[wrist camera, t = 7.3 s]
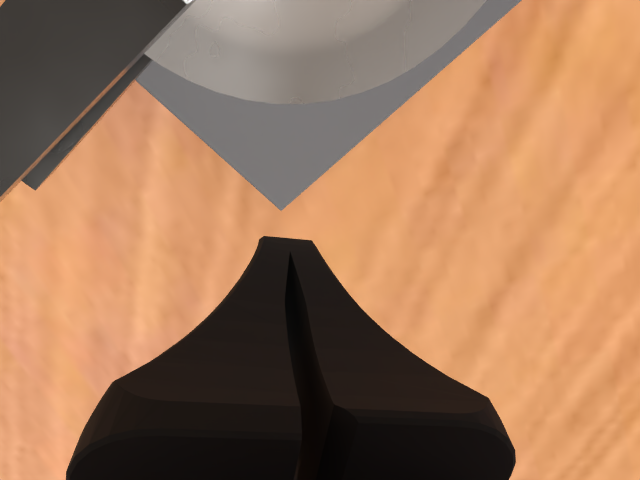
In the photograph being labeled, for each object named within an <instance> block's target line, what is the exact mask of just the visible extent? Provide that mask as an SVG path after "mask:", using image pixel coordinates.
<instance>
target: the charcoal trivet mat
mask: <svg viewBox="0 0 640 480" xmlns="http://www.w3.org/2000/svg"><path fill="white" fill-rule="evenodd" d="M520 1H521V0H486V1H485V3H484V4H483V5H482V6H481V7H480V8H479V10H478V11H477V12H476V13H475V14H474V15H473V17H472V18H471V19H470V20H469V21H468V22H467V24H466V25H465V26H464V27H463V28H462V29H461V30H459V31H458V32H457V33H456V34H455V35H454V36H453V37H452V38H451V39H450V40H449V41H448V42H447V43H445V44H444V45H443V46H442V47H441V48H440V49H439V50H437V51H436V52H435V53H433V54H432V55H430V56H429V57H428V58H426V59H425V60H424V61H422V62H421V63H420V64H418V65H417V66H415V67H414V68H412V69H410V70H408V71H407V72H405V73H403V74H401V75H400V76H398V77H396V78H394V79H392V80H391V81H389V82H387V83H384V84H382V85H379V86H377V87H374V88H372V89H369V90H367V91H365V92H362V93H359V94H355V95H351V96H348V97H344V98H340V99H336V100H332V101H324V102H316V103H309V104H272V103H265V102H257V101H250V100H244V99H240V98H237V97H233V96H229V95H225V94H222V93H218V92H215V91H213V90H210V89H208V88H205V87H203V86H200V85H198V84H195V83H193V82H191V81H188V80H186V79H184V78H183V77H181V76H179V75H177V74H175V73H174V72H172V71H170V70H168V69H166V68H165V67H163V66H161V65H159V64H158V63H156V62H155V61H152V62H151V63H150V64H149V65H148V66H147V68H146V69H145V70H144V71H143V72H142V73H141V74H140V75H139V77H138V78H137V79H136V81H137V82H138V83H139V84H140V85H141V86H143V87H144V88H145V89H146V90H147V91H148V92H149V93H150V94H151V95H153V96H154V97H155V98H156V99H157V100H158V101H159V102H160V103H161V104H163V105H164V106H165V107H166V108H167V109H168V110H169V111H170V112H171V113H173V114H174V115H175V116H176V117H177V118H178V119H179V120H180V121H182V122H183V123H184V124H185V125H186V126H187V127H188V128H189V129H190V130H192V131H193V132H194V133H195V134H196V135H197V136H198V137H199V138H200V139H202V140H203V141H204V142H205V143H206V144H207V145H208V146H209V147H210V148H212V149H213V150H214V151H215V152H216V153H217V154H218V155H219V156H221V157H222V158H223V159H224V160H225V161H226V162H227V163H228V164H229V165H231V166H232V167H233V168H234V169H235V170H236V171H237V172H238V173H239V174H241V175H242V176H243V177H244V178H245V179H246V180H247V181H248V182H250V183H251V184H252V185H253V186H254V187H255V188H256V189H257V190H258V191H260V192H261V193H262V194H263V195H264V196H265V197H266V198H267V199H268V200H270V201H271V202H272V203H273V204H274V205H275V206H276V207H277V208H278V209H280V210H283V209H284V208H285V207H286V206H287V205H288V204H289V203H291V202H292V201H293V200H294V199H295V198H296V197H297V196H299V195H300V194H301V193H302V192H303V191H304V190H305V189H307V188H308V187H309V186H310V185H311V184H312V183H313V182H315V181H316V180H317V179H318V178H319V177H320V176H321V175H323V174H324V173H325V172H326V171H327V170H328V169H329V168H331V167H332V166H333V165H334V164H335V163H336V162H337V161H339V160H340V159H341V158H342V157H343V156H344V155H345V154H347V153H348V152H349V151H350V150H351V149H352V148H353V147H355V146H356V145H357V144H358V143H359V142H360V141H361V140H363V139H364V138H365V137H366V136H367V135H368V134H369V133H371V132H372V131H373V130H374V129H375V128H376V127H377V126H379V125H380V124H381V123H382V122H383V121H384V120H385V119H387V118H388V117H389V116H390V115H391V114H392V113H393V112H395V111H396V110H397V109H398V108H399V107H400V106H401V105H403V104H404V103H405V102H406V101H407V100H408V99H409V98H411V97H412V96H413V95H414V94H415V93H416V92H417V91H419V90H420V89H421V88H422V87H423V86H424V85H425V84H427V83H428V82H429V81H430V80H431V79H432V78H433V77H435V76H436V75H437V74H438V73H439V72H440V71H441V70H443V69H444V68H445V67H446V66H447V65H448V64H449V63H451V62H452V61H453V60H454V59H455V58H456V57H457V56H459V55H460V54H461V53H462V52H463V51H464V50H465V49H467V48H468V47H469V46H470V45H471V44H472V43H473V42H475V41H476V40H477V39H478V38H479V37H480V36H481V35H483V34H484V33H485V32H486V31H487V30H488V29H489V28H491V27H492V26H493V25H494V24H495V23H496V22H497V21H499V20H500V19H501V18H502V17H503V16H504V15H505V14H507V13H508V12H509V11H510V10H511V9H512V8H513V7H515V6H516V5H517V4H518V3H519V2H520Z"/></svg>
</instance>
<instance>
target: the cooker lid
mask: <svg viewBox="0 0 640 480" xmlns="http://www.w3.org/2000/svg"><path fill="white" fill-rule="evenodd" d="M485 1H486V0H5V2H4V3H3V4H2V5H1V7H0V202H1V201H2V200H3V199H4V198H5V197H6V196H7V195H8V194H9V193H10V192H11V190H12V189H13V188H14V187H15V186H16V185H17V184H18V183H19V182H20V181H21V180H22V179H23V178H24V177H25V176H26V175H27V174H28V173H29V172H30V171H31V170H32V169H33V168H34V167H35V166H36V165H37V164H38V163H39V162H40V161H41V160H42V159H43V158H44V157H45V155H46V154H47V153H48V152H49V151H50V150H51V149H52V148H53V147H54V146H55V145H56V144H57V143H58V142H59V141H60V140H61V139H62V138H63V137H64V136H65V135H66V134H67V133H68V132H69V131H70V130H71V129H72V128H73V127H74V126H75V125H76V124H77V123H78V122H79V121H80V119H81V118H82V117H83V116H84V115H85V114H86V113H87V112H88V111H89V110H90V109H91V108H92V107H93V106H94V105H95V104H96V103H97V102H98V101H99V100H100V99H101V98H102V97H103V96H104V95H105V94H106V93H107V92H108V91H109V90H110V89H111V88H112V87H113V86H114V84H115V83H116V82H117V81H118V80H119V79H120V78H121V77H122V76H123V75H124V74H125V73H126V72H127V71H128V70H129V69H130V68H131V67H132V66H133V65H134V64H135V63H136V62H137V61H138V60H139V59H140V58H141V57H142V56H143V55H144V54H145V55H146V56H148V57H149V58H151V59H152V60H153V61H155V62H156V63H158V64H159V65H161V66H163V67H165V68H166V69H168V70H170V71H172V72H174V73H175V74H177V75H179V76H181V77H183V78H184V79H186V80H188V81H191V82H193V83H195V84H198V85H200V86H203V87H205V88H208V89H210V90H213V91H215V92H218V93H222V94H225V95H229V96H233V97H237V98H240V99H244V100H250V101H257V102H265V103H272V104H309V103H316V102H324V101H332V100H336V99H340V98H344V97H348V96H351V95H355V94H359V93H362V92H365V91H367V90H369V89H372V88H374V87H377V86H379V85H382V84H384V83H387V82H389V81H391V80H392V79H394V78H396V77H398V76H400V75H401V74H403V73H405V72H407V71H408V70H410V69H412V68H414V67H415V66H417V65H418V64H420V63H421V62H422V61H424V60H425V59H426V58H428V57H429V56H430V55H432V54H433V53H435V52H436V51H437V50H439V49H440V48H441V47H442V46H443V45H444V44H445V43H447V42H448V41H449V40H450V39H451V38H452V37H453V36H454V35H455V34H456V33H457V32H458V31H459V30H461V29H462V28H463V27H464V26H465V25H466V24H467V22H468V21H469V20H470V19H471V18H472V17H473V15H474V14H475V13H476V12H477V11H478V10H479V8H480V7H481V6H482V5H483V4H484V3H485Z"/></svg>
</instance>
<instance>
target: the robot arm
mask: <svg viewBox="0 0 640 480" xmlns="http://www.w3.org/2000/svg"><path fill="white" fill-rule="evenodd" d="M515 463H516V459H515V449H514V447H513V445H512V443H511V441H510V438H509V436H508V434H507V432H506V430H505V427H504V425H503V423H502V421H501V419H500V417H499V415H498V414H497V412H496V410H495V408H494V407H493V405H492V403H491V401H490V400H489V398H488V397H486V396H484V395H482V394H480V393H478V392H476V391H475V390H473V389H471V388H469V387H467V386H465V385H463V384H461V383H459V382H458V381H456V380H454V379H452V378H450V377H448V376H447V375H445V374H444V373H442V372H440V371H439V370H437V369H436V368H434V367H432V366H431V365H429V364H428V363H426V362H425V361H423V360H422V359H420V358H419V357H417V356H416V355H415V354H413V353H412V352H410V351H409V350H408V349H407V348H405V347H404V346H403V345H401V344H400V343H399V342H398V341H396V340H395V339H394V338H392V337H391V336H390V335H389V334H388V333H387V332H385V331H384V330H383V329H382V328H381V327H380V326H379V325H378V324H377V323H376V322H375V321H374V320H372V319H371V318H370V317H369V316H368V315H367V314H366V313H365V312H364V311H363V310H362V309H361V308H360V306H359V305H358V304H357V303H356V302H355V301H354V300H353V298H352V297H351V296H350V295H349V294H348V292H347V291H346V290H345V289H344V287H343V286H342V284H341V283H340V282H339V280H338V279H337V278H336V276H335V275H334V274H333V272H332V271H331V269H330V268H329V266H328V265H327V263H326V262H325V260H324V259H323V257H322V256H321V254H320V252H319V251H318V249H317V247H316V246H315V244H314V243H313V242H312V241H311V240H301V239H290V238H279V237H268V236H263V237H262V238H261V239H259V243H258V246H257V249H256V252H255V254H254V256H253V258H252V260H251V261H250V263H249V265H248V266H247V268H246V270H245V271H244V273H243V274H242V276H241V277H240V279H239V280H238V282H237V283H236V284H235V286H234V287H233V288H232V290H231V291H230V292H229V293H228V295H227V296H226V297H225V298H224V300H223V301H222V302H221V303H220V304H219V305H218V306H217V307H216V309H215V310H214V311H213V312H212V313H211V314H210V315H209V316H208V317H207V318H206V319H205V320H204V321H202V322H201V323H200V324H199V325H198V326H197V327H196V328H195V329H194V330H192V331H191V332H190V333H189V334H188V335H187V336H185V337H184V338H183V339H182V340H180V341H179V342H178V343H176V344H175V345H173V346H172V347H170V348H169V349H168V350H166V351H165V352H163V353H162V354H161V355H159V356H158V357H156V358H155V359H153V360H152V361H150V362H149V363H147V364H145V365H143V366H141V367H139V368H138V369H136V370H134V371H132V372H130V373H129V374H127V375H125V376H123V377H121V378H119V379H117V380H115V381H114V382H112V384H111V385H110V387H109V388H108V389H107V391H106V392H105V394H104V395H103V397H102V398H101V400H100V401H99V403H98V405H97V406H96V408H95V410H94V411H93V413H92V415H91V417H90V419H89V420H88V422H87V424H86V426H85V428H84V430H83V432H82V434H81V436H80V438H79V441H78V443H77V446H76V448H75V451H74V453H73V456H72V458H71V461H70V463H69V466H68V469H67V471H66V480H509V478H510V476H511V474H512V471H513V469H514V466H515Z"/></svg>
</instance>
